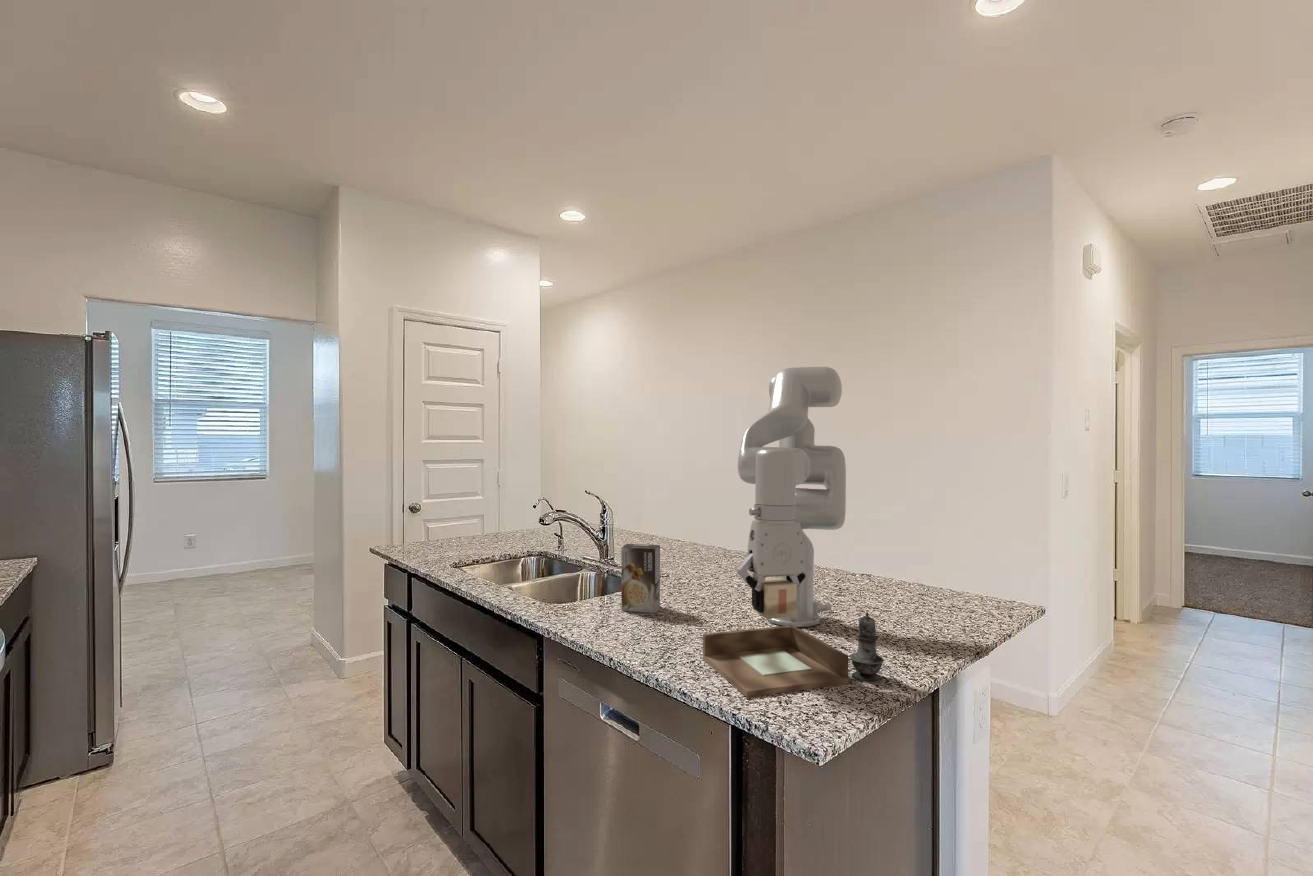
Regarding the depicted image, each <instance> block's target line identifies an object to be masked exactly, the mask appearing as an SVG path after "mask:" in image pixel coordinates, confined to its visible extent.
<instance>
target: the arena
mask: <svg viewBox="0 0 1313 876" xmlns="http://www.w3.org/2000/svg"><path fill="white" fill-rule="evenodd" d="M702 660H703V661H704V662H705V663H706V664H708V665H709V667H711V668H712V669H713V668H714V669H715V670H714V669H713V670H714V671H715V672H716V673H717V674H719V675H720V674H721V675H720V676H721V677H722V678H724V679H725V680H726V682H728V683H729V682H730V683H731V684H730V683H729V684H730V685H732V686H733V687H734V688H735V687H736V688H737V689H736V688H735V689H736V690H737V691H739V692H740V694H742V695H743V696H744V697H745V696H746V697H745V698H752V696H754V697H759V696H768V695H775V694H783V693H790V692H797V691H805V690H811V689H819V688H827V687H834V686H841V685H848V684H849V655H848V654H847V653H845V652H843V651H841V650H839V649H837V648H835V647H834V646H831V645H830V644H829V643H827V642H825V641H822V640H821V639H819V638H817V637H815V636H814V635H811V634H810V633H808V632H806V631H804V630H803V629H800V627H795V626H793V625H790V626H782V625H779V626H773V627H771V626H770V627H760V628H750V629H742V630H731V631H730V630H729V631H721V632H719V631H718V632H710V633H709V632H708V633H703V634H702Z"/></svg>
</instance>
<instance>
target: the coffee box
mask: <svg viewBox="0 0 1313 876" xmlns="http://www.w3.org/2000/svg"><path fill="white" fill-rule="evenodd" d="M620 551H621V552H620V554H621V555H620V558H621V564H620V565H621V566H620V567H621V568H620V569H621V575H620V576H621V577H620V578H621V579H620V580H621V583H620V584H621V587H620V588H621V590H620V592H621V593H620V594H621V605H620V606H621V612H636V613H652V614H657V612H658V611H659V609H661V545H660V544H644V543H643V544H641V543H638V544H637V543H627V544H624V545H623V546H622V547H621V550H620Z"/></svg>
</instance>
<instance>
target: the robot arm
mask: <svg viewBox="0 0 1313 876" xmlns="http://www.w3.org/2000/svg"><path fill="white" fill-rule="evenodd" d="M842 387H843V386H842V381H841V377H840V376H839V373H838V372H837V370H835V369H834V368H832V367H829V366H806V367H804V366H803V367H802V366H798V367H794V366H793V367H789V368H788V367H787V368H784V369H782V370H780V371H778V372H777V374H776V375H775V376H773V377H772V378H771V379H770V381H769V384H768V394H769V398H770V399H769V401H770V402H769V407H768V411H767V412H765V413H764V414H763V415H761V416H760V417H758V418H757V419H756V420H755V421H754V422H752V424H751V425H750V426H748V428H747V429H746V430H745V432H744V434H743V436H742V439H741V442H740V448H739V452H738V457H737V473H738V476H739V478H740V479H741V480H742V481H743V482H744V483H746V484H750V485H751V484H752V485H755V491H754V493H755V494H754V495H755V497H754V499H755V501H754V502H755V503H754V505H753V507H751V508H749V510H748V515H749V516H753V517H754V520H752V521H751V525H750V530H749V535H748V543H747V554H746V555H747V557H746V558H745V559H744V560H743V561H742V563H741V564H740V565H739V566H738V567H737V569H736V574H737V575H739V576H740V577H741V579H743V581H744V582H745V583H746V585H748V586H749V588H750V589H751V606H752V610H753V609H754V610H756V611H758V612H760V613H763V612H764V591H762V586H763V583H764V580H765V579H767V578H766V577H768V578H770V577H771V578H783V579H785V580H788V581H790V582H793V583H795V584H797V617H787V618H775V619H767V618H766V620H767V621H768V622H770V623H772V624H773V625H778V626H790V625H793V626H795V627H797V628H807V627H814V626H817V625H818V624H820V622H821V617H820V615H819V613H820V612H828V611H829V612H830V611H832V604H831V603H830V602H822V603H821V602H820V601H816V600H814V595H815V593H814V591H815V590H814V588H815V587H814V585H815V582H814V581H815V580H814V574H815V572H814V571H815V569H814V568H815V567H814V565H815V562H814V561H815V560H814V559H815V558H814V556H815V549H814V546H813V543H812V541H811V539H810V538H809V537H808V535H807V534H806V533H805V532H804V530H826V531H827V530H828V531H829V530H830V531H831V530H832V531H835V530H840V529H841V528H842V527H843V526H844V524H845V520H846V508H847V504H846V503H847V502H846V499H847V497H846V492H847V489H846V488H847V485H846V484H847V475H846V474H847V470H846V469H847V468H846V467H847V465H846V457H845V454H844V452H843V451H842V450H841V448H839V447H838V446H835V445H834V446H833V445H816V444H815V434H816V432H815V429H816V428H815V426H814V424H813V422H812V421H811V420H810V419H809V408H833V407H837V405H838V404H839V403H840V401H841V399H842V398H841V397H842V394H843V393H842V391H843V388H842ZM777 441H778V443H779V444H778V446H773V447H772V446H766V445H768V444H771V443H774V442H777ZM764 446H765V447H764ZM799 485H815V486H816V485H817V486H823V487H825V489H824V488H823V489H822V488H804V487H803V488H801V487H797V486H799ZM749 572H750V573H752V576H751V575H750V574H749Z"/></svg>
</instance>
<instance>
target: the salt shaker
mask: <svg viewBox="0 0 1313 876" xmlns="http://www.w3.org/2000/svg"><path fill="white" fill-rule="evenodd" d="M856 638H857V639H858V640H857V641H858V644H857V645H858V646H857V647H858V648H857V651H856V652H855V653H852V654H850V656H849V659H851V664H852V666H853V668H854V669H855V670H856V671H854V672H853V673H851V678H852V679H853V680H855V681H857V682H860V683H864V682H867V683H866V684H878V683H877V682H879V683H881V682H882V681H883V677H881V676H880V675H879V671H880V670H881V669H882V667H883V663H884V662H885V659H884V658H883V657H882V656H880V655H878V654H877V650H876V647H877V644H876V643H877V642H876V641H877V640H878V636H876V620H875V619H874V618H873V617H871V616H870V614H869V612H868V611H866V613H865V615H864V616H862V617H860V618H859V620H858V634H857V635H856Z"/></svg>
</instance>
